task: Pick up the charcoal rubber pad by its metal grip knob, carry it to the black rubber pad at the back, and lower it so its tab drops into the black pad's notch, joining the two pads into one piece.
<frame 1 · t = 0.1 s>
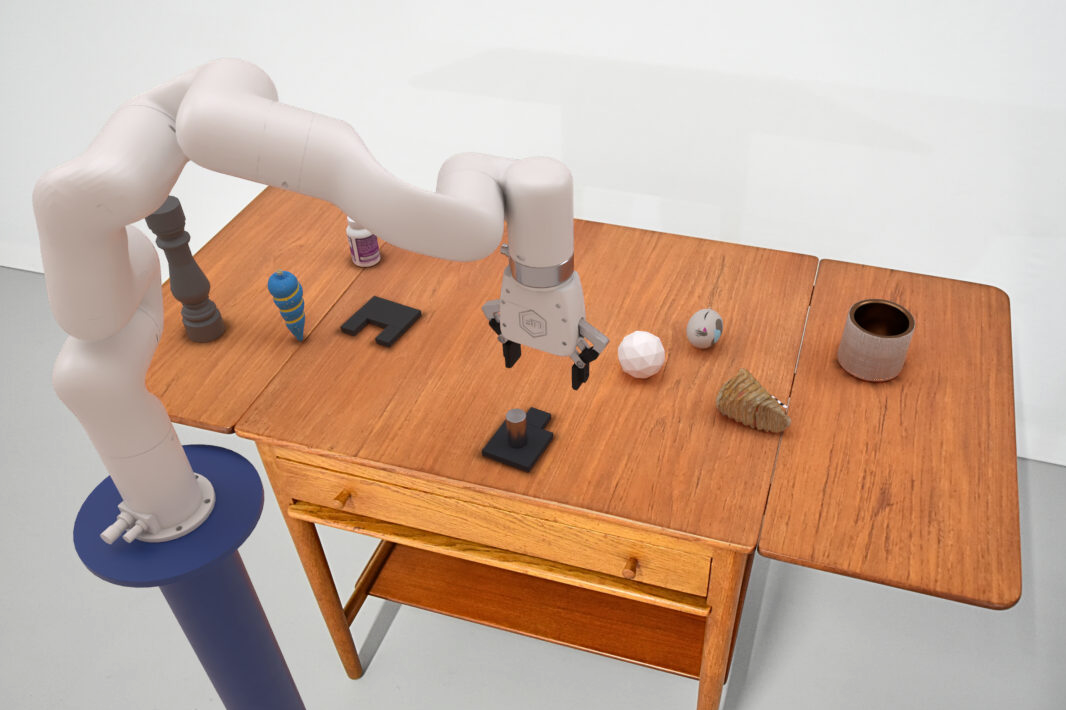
hand: (546, 372, 117), 21 cm above the table, tool pointing down, fingers open, 9 cm apart
pill bottle: (366, 260, 172), on the table
figurine: (702, 346, 155), on the table
notch pad: (378, 326, 157), on the table
planter: (868, 363, 152), on the table
geometric ball: (640, 372, 149), on the table
tab pad: (518, 446, 136), on the table
candle holder: (207, 332, 156), on the table
fossil: (753, 412, 143), on the table
ornament: (299, 341, 154), on the table
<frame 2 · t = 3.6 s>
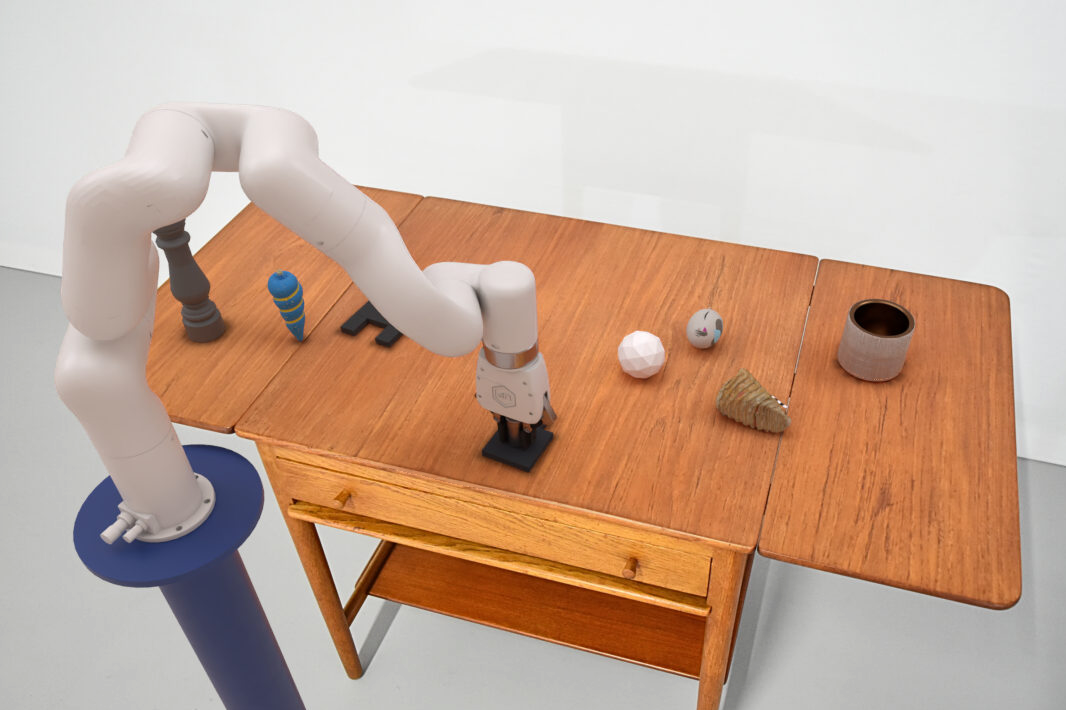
hand: (517, 439, 135), 2 cm above the table, tool pointing down, fingers closed on tab pad, 3 cm apart
tab pad: (518, 446, 136), on the table, touching gripper
everything else where it was.
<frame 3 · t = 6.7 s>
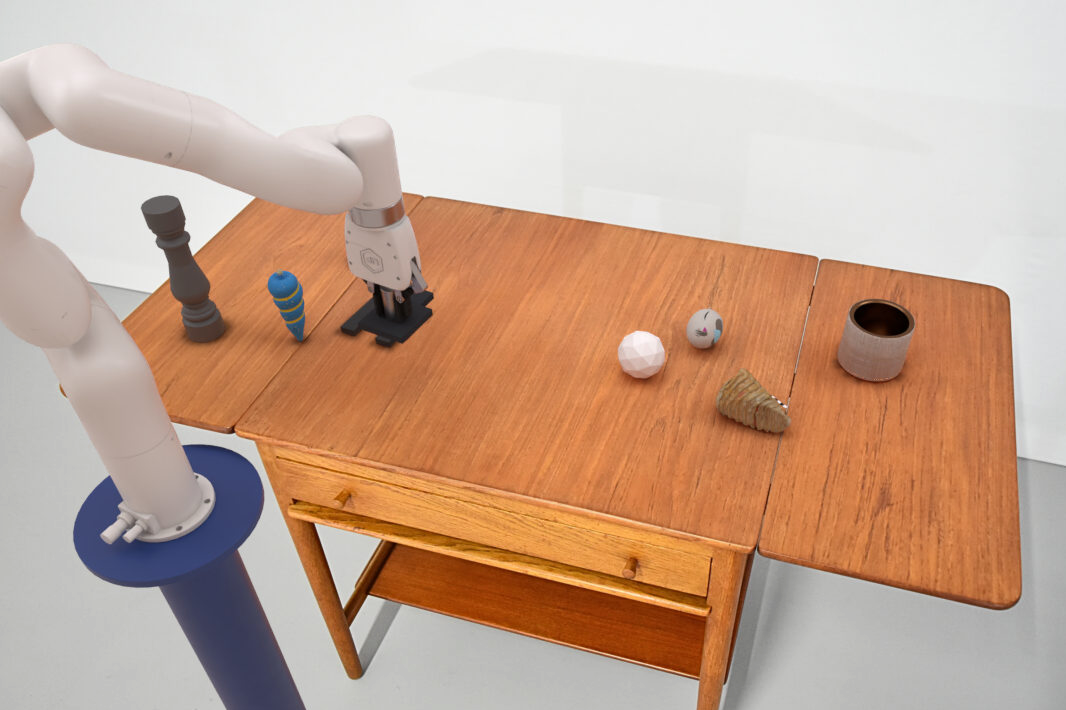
hand: (394, 313, 136), 15 cm above the table, tool pointing down, fingers closed on tab pad, 3 cm apart
tab pad: (396, 321, 137), point 13 cm above the table, touching gripper
everything else where it was.
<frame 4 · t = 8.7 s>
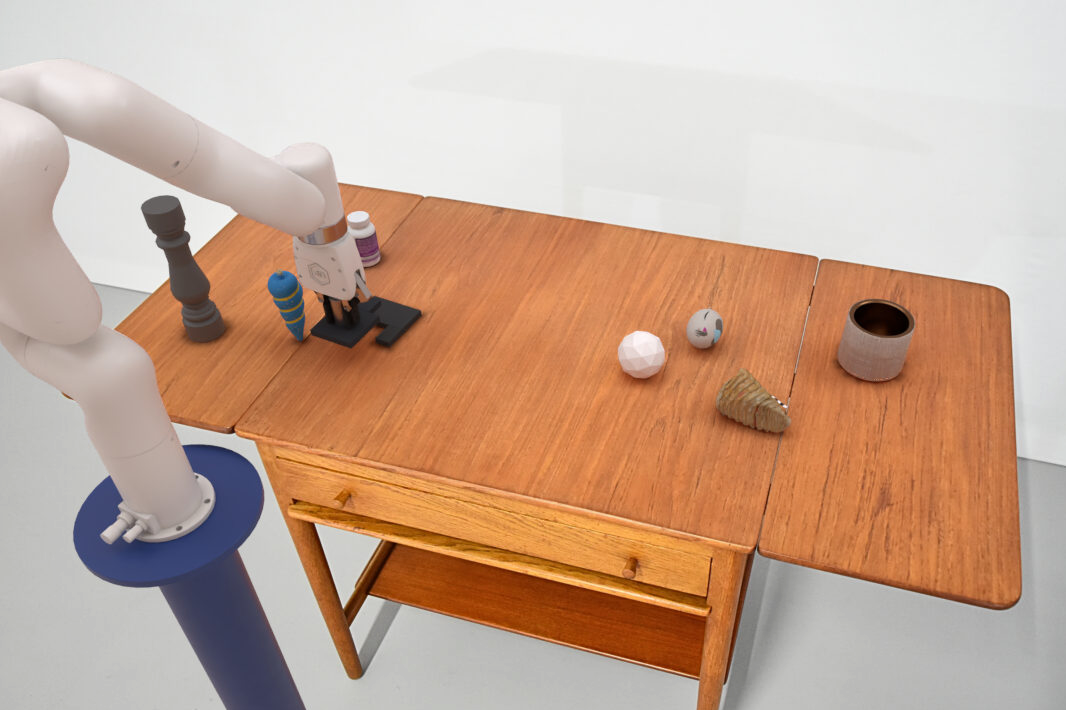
hand: (344, 320, 147), 7 cm above the table, tool pointing down, fingers closed on tab pad, 3 cm apart
tab pad: (346, 328, 148), point 5 cm above the table, touching gripper
everything else where it was.
when the fingers open (2 cm above the table, at t = 10.2 s): tab pad stays where it is, on the table.
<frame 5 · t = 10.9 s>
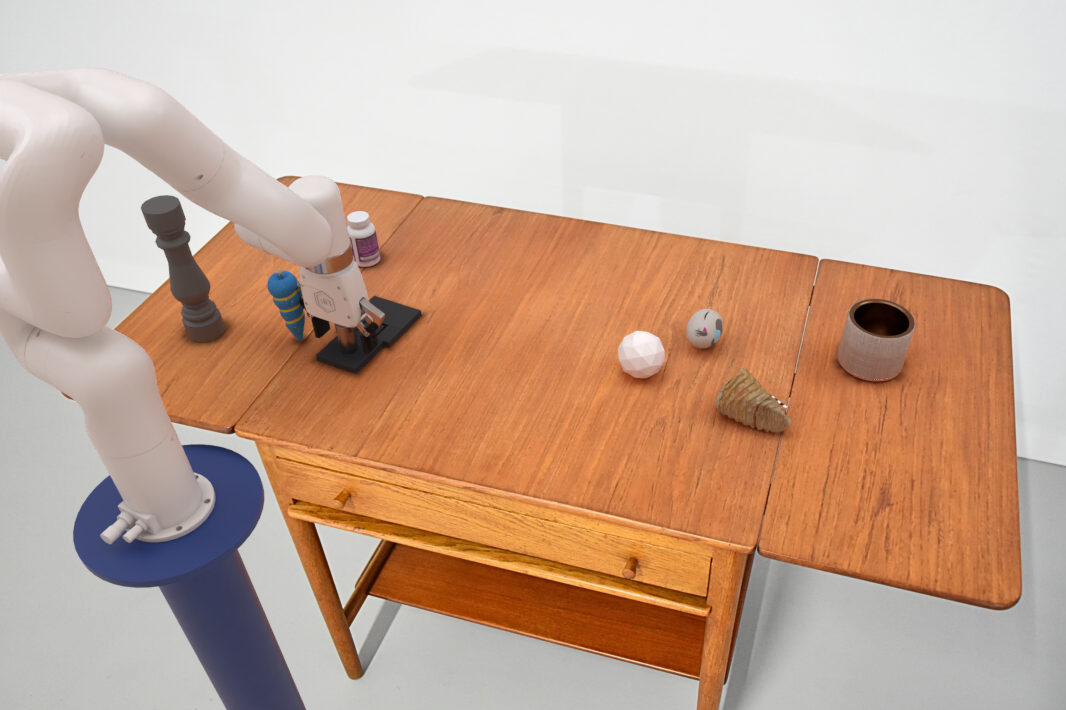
hand: (347, 341, 150), 3 cm above the table, tool pointing down, fingers open, 9 cm apart
tab pad: (351, 353, 152), on the table
ornament: (299, 341, 154), on the table, touching gripper
everything else where it was.
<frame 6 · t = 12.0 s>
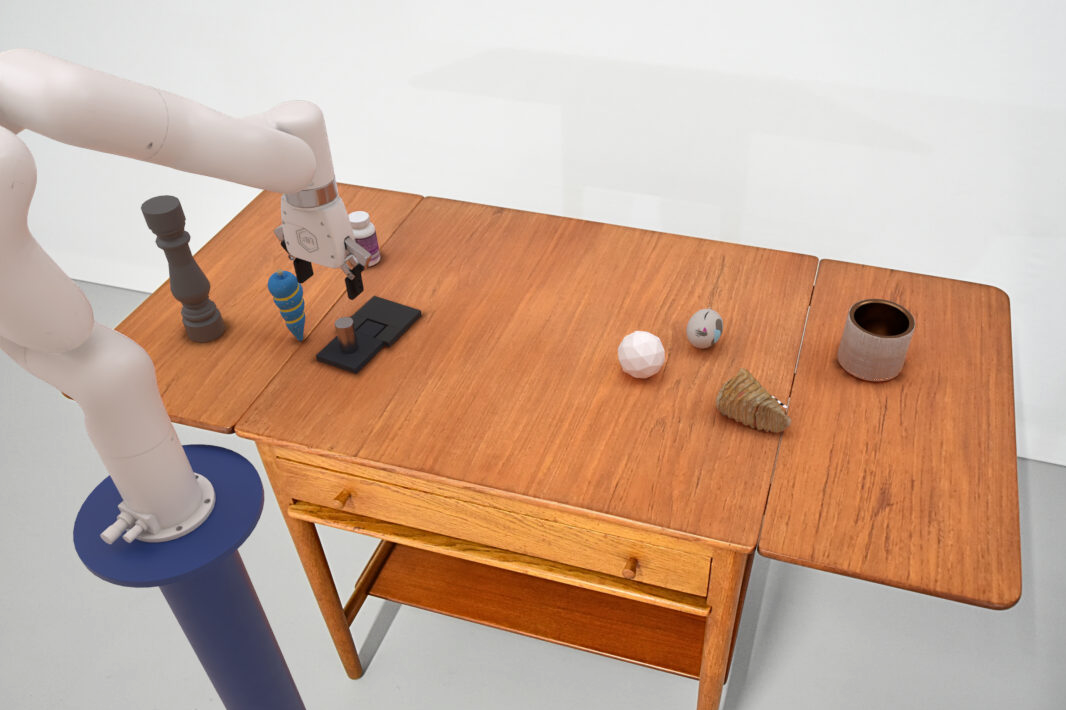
hand: (331, 287, 141), 14 cm above the table, tool pointing down, fingers open, 9 cm apart
ornament: (299, 341, 154), on the table
everything else where it was.
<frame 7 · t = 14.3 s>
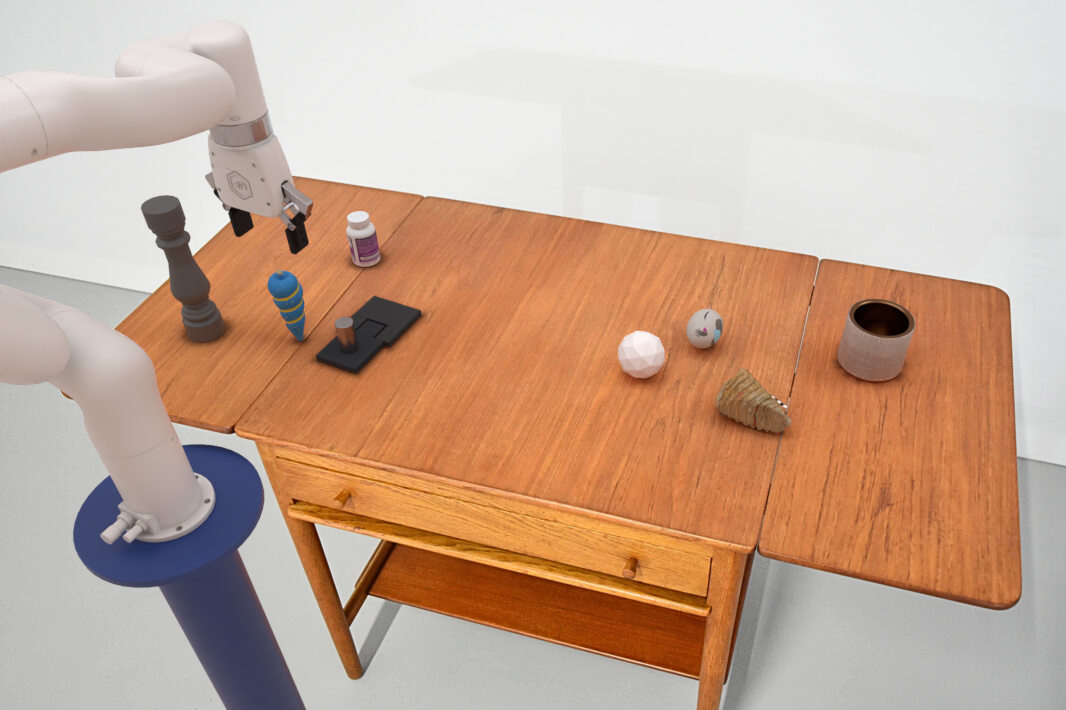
hand: (272, 240, 126), 28 cm above the table, tool pointing down, fingers open, 9 cm apart
nothing on the table moved.
at the end: tab pad 0.2 cm from the target spot on the table beside the notch pad, on the table; tab pad tilted 0°; the gripper is holding nothing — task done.
